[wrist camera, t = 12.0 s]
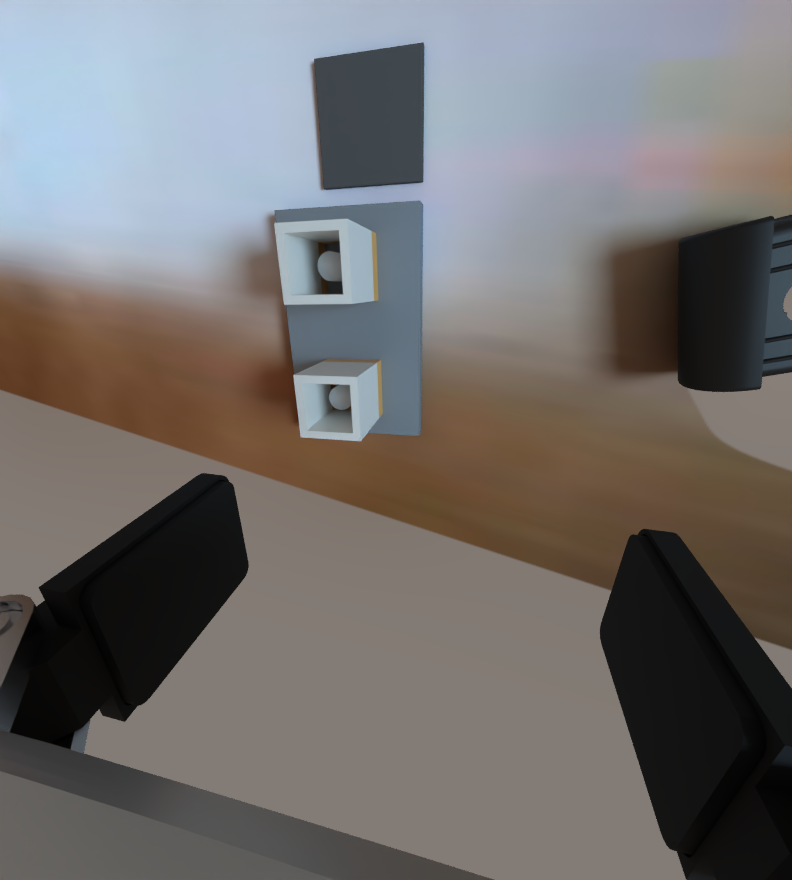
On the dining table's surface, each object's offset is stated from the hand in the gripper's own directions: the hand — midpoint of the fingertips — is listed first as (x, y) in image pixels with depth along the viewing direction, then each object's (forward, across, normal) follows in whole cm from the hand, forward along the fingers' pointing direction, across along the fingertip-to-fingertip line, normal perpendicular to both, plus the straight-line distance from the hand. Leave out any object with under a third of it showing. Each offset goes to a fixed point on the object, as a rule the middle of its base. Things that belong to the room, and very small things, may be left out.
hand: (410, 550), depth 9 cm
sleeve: (+25, +10, +4) cm, 27 cm away
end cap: (+27, -18, -4) cm, 33 cm away
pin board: (+27, +10, -1) cm, 29 cm away
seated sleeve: (+26, +10, -6) cm, 28 cm away
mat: (+27, +8, -16) cm, 33 cm away
